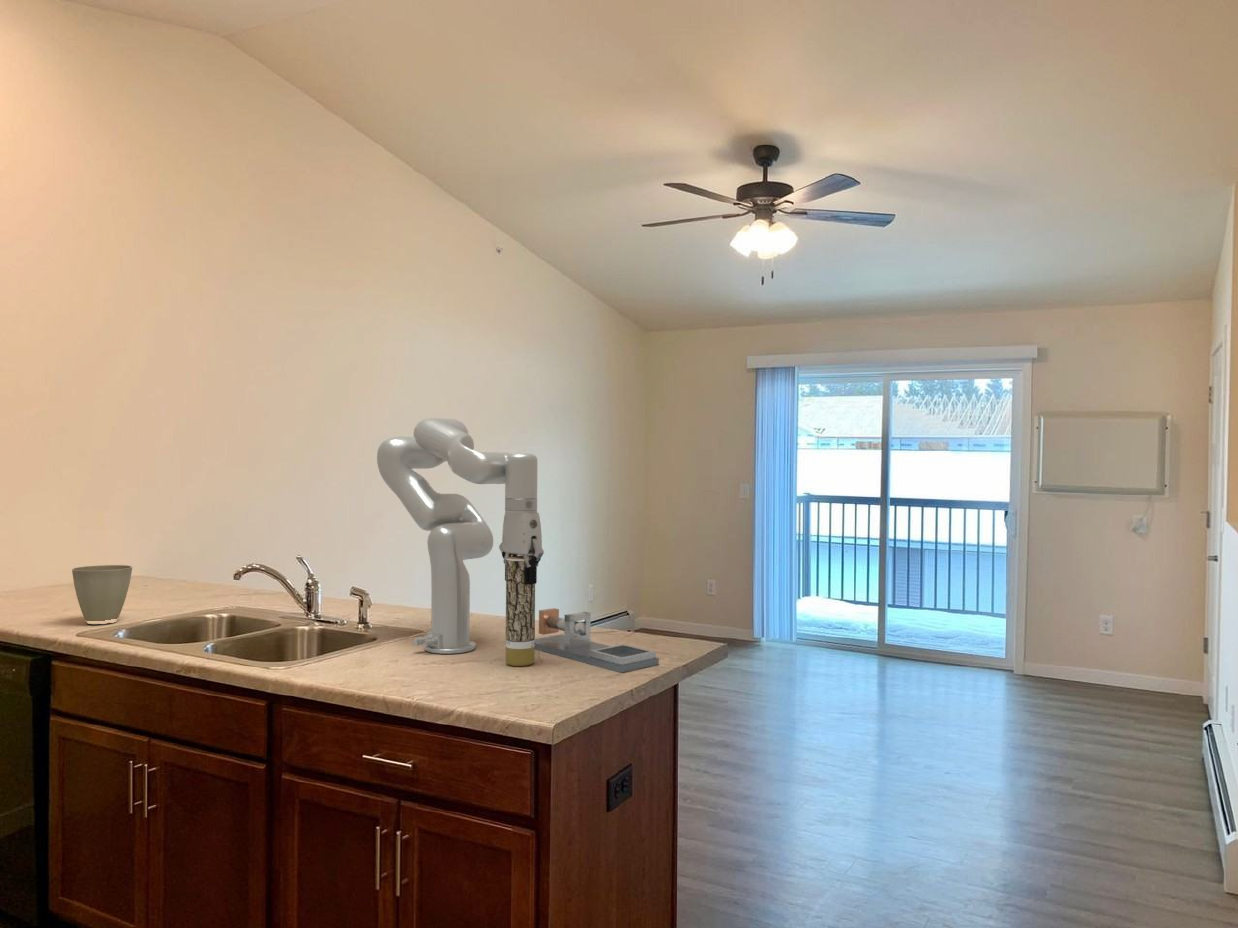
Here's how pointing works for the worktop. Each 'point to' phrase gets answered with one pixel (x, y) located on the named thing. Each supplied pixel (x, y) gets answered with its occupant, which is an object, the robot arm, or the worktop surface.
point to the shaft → (556, 622)
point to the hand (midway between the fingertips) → (520, 581)
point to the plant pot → (101, 590)
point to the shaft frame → (595, 648)
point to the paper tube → (519, 614)
